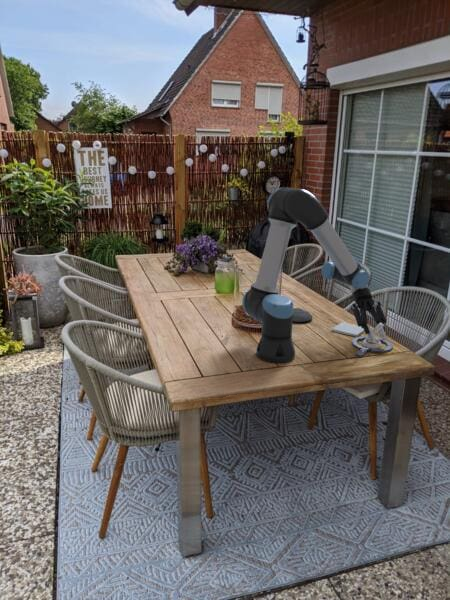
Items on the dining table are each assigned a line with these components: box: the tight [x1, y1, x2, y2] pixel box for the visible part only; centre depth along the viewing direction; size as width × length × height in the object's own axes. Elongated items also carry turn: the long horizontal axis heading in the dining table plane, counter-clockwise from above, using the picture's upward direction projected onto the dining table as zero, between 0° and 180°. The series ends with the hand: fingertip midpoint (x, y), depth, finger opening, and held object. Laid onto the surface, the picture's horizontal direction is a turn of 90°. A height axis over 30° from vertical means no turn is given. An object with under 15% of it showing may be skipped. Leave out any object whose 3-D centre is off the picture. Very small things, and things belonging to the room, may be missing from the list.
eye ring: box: [351, 335, 394, 358], centre depth 184 cm, size 23×16×1 cm
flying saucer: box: [292, 307, 313, 323], centre depth 218 cm, size 15×15×6 cm
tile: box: [331, 321, 365, 338], centre depth 203 cm, size 12×12×1 cm
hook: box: [362, 323, 385, 349], centre depth 185 cm, size 8×12×7 cm
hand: (378, 340), depth 182 cm, fingers closed on hook, 5 cm apart
